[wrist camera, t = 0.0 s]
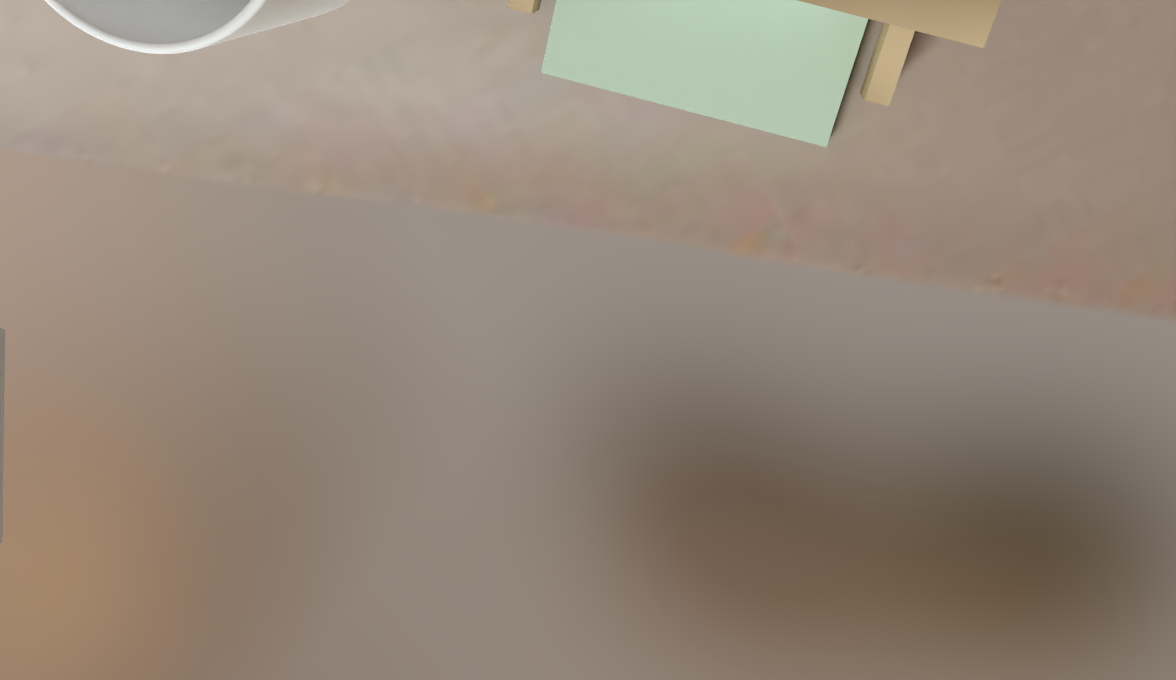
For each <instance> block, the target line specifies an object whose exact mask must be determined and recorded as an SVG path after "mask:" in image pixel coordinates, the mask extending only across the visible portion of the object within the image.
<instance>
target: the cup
mask: <svg viewBox="0 0 1176 680" xmlns="http://www.w3.org/2000/svg"><path fill="white" fill-rule="evenodd" d="M45 1H46V2H47V3H48V4H49V5H50V6H51V7H52V8H53V9H54V10H56V11H57V12H58V13H59V14H60V15H61V16H63V17H64V18H65V19H67V20H68V21H70V22H71V23H72V24H74V25H75V26H77V27H78V28H80V29H82V30H83V31H85V32H86V33H88V34H90V35H92V36H94V37H96V38H98V39H100V40H102V41H104V42H107V43H110V44H112V45H115V46H118V47H121V48H125V49H128V50H132V51H138V52H144V53H153V54H175V53H182V52H189V51H193V50H197V49H200V48H204V47H208V46H211V45H215V44H218V43H222V42H226V41H229V40H233V39H236V38H240V37H244V36H247V35H251V34H254V33H258V32H261V31H265V30H269V29H272V28H276V27H279V26H283V25H287V24H290V23H294V22H297V21H301V20H304V19H308V18H312V17H315V16H319V15H322V14H324V13H327V12H330V11H332V10H334V9H337V8H339V7H341V6H343V5H344V4H346V3H348V2H350V1H351V0H45Z"/></svg>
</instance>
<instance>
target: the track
mask: <svg viewBox="0 0 1176 680" xmlns="http://www.w3.org/2000/svg"><path fill="white" fill-rule="evenodd" d="M867 21H868V19H867V18H864V17H860V16H856V15H852V14H848V13H844V12H840V11H836V10H832V9H829V8H825V7H821V6H817V5H813V4H809V3H805V2H801V1H797V0H556V4H555V9H554V14H553V18H552V23H551V28H550V32H549V37H548V42H547V47H546V51H545V56H544V61H543V66H542V70H541V73H544V74H548V75H552V76H556V77H560V78H563V79H567V80H571V81H575V82H579V83H582V84H586V85H590V86H594V87H598V88H602V89H605V90H609V91H613V92H617V93H621V94H625V95H628V96H632V97H636V98H640V99H644V100H647V101H651V102H655V103H659V104H663V105H667V106H670V107H674V108H678V109H682V110H686V111H689V112H693V113H697V114H701V115H705V116H709V117H712V118H716V119H720V120H724V121H728V122H732V123H735V124H739V125H743V126H747V127H751V128H754V129H758V130H762V131H766V132H770V133H774V134H777V135H781V136H785V137H789V138H793V139H797V140H800V141H804V142H808V143H812V144H816V145H819V146H823V147H827V144H828V141H829V138H830V135H831V132H832V129H833V125H834V122H835V119H836V116H837V113H838V110H839V107H840V104H841V101H842V98H843V95H844V92H845V89H846V86H847V83H848V80H849V77H850V73H851V70H852V67H853V64H854V61H855V58H856V55H857V52H858V49H859V46H860V43H861V40H862V37H863V34H864V31H865V28H866V25H867Z"/></svg>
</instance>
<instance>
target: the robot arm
mask: <svg viewBox="0 0 1176 680" xmlns="http://www.w3.org/2000/svg"><path fill="white" fill-rule="evenodd" d="M4 363H5V330H4V329H0V543H1V542H2V521H3V516H2V515H3V446H4V445H3V444H4V443H3V442H4V440H3V439H4V369H5V366H4V365H5V364H4Z"/></svg>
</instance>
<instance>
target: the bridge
mask: <svg viewBox="0 0 1176 680" xmlns="http://www.w3.org/2000/svg"><path fill="white" fill-rule="evenodd" d="M797 1H801V2H805V3H809V4H813V5H817V6H821V7H825V8H829V9H832V10H836V11H840V12H844V13H848V14H852V15H856V16H860V17H864V18H867V19H871V20H875V21H879V22H883V26H882V29H881V32H880V35H879V38H878V41H877V44H876V47H875V50H874V53H873V56H872V59H871V62H870V65H869V68H868V71H867V74H866V77H865V80H864V83H863V86H862V89H861V92H860V94H861V95H862V97H863V99H864V100H865V101H869V102H873V103H877V104H880V105H884V106H888V107H889V105H890V102H891V99H892V96H893V93H894V90H895V88H896V85H897V82H898V79H899V76H900V73H901V70H902V67H903V64H904V62H905V59H906V56H907V53H908V50H909V47H910V44H911V41H912V38H913V36H914V33H915V31H918V32H922V33H926V34H930V35H934V36H937V37H941V38H945V39H949V40H953V41H957V42H961V43H965V44H969V45H972V46H976V47H980V48H984V46H985V43H986V41H987V38H988V35H989V33H990V30H991V27H992V25H993V22H994V19H995V17H996V14H997V11H998V9H999V6H1000V3H1001V1H1002V0H797ZM540 3H541V0H509V3H508V8H511V9H515V10H519V11H522V12H526V13H530V14H532V13H534V12H536V11H538V10H539V8H540Z"/></svg>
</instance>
